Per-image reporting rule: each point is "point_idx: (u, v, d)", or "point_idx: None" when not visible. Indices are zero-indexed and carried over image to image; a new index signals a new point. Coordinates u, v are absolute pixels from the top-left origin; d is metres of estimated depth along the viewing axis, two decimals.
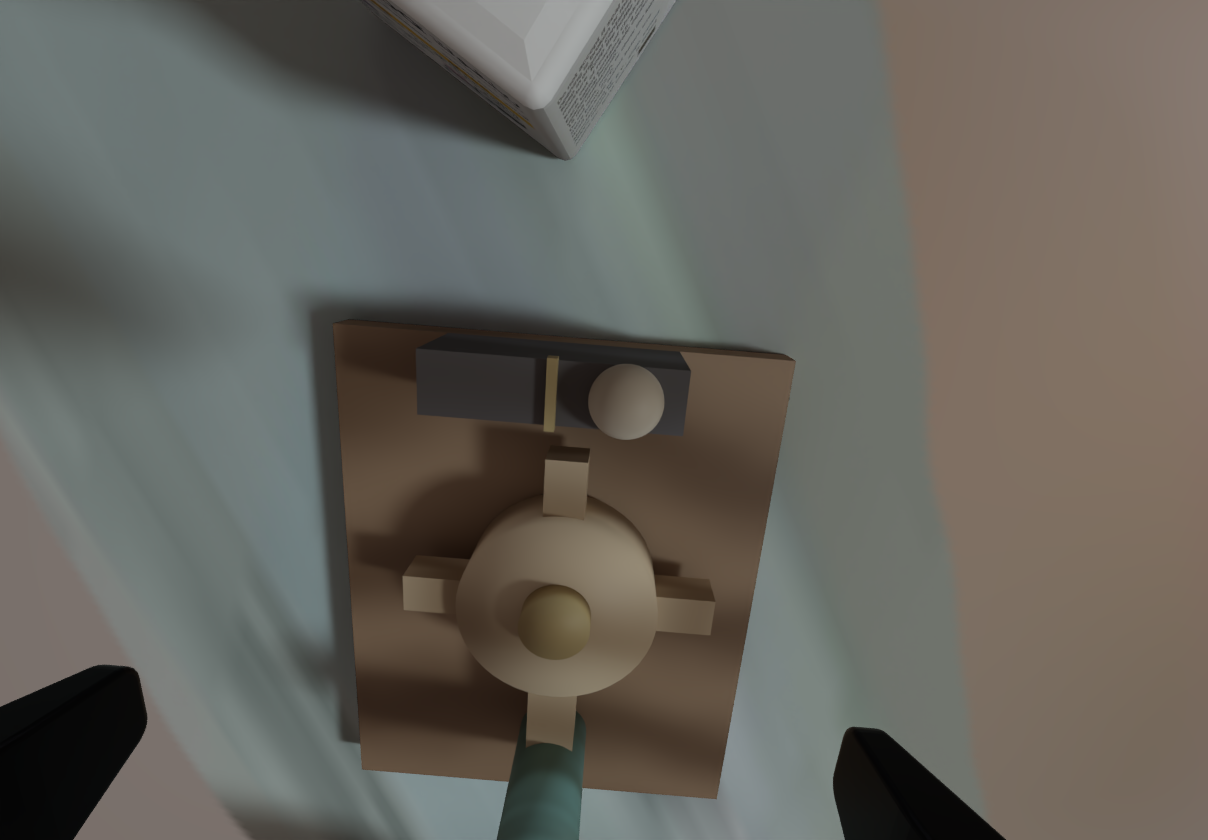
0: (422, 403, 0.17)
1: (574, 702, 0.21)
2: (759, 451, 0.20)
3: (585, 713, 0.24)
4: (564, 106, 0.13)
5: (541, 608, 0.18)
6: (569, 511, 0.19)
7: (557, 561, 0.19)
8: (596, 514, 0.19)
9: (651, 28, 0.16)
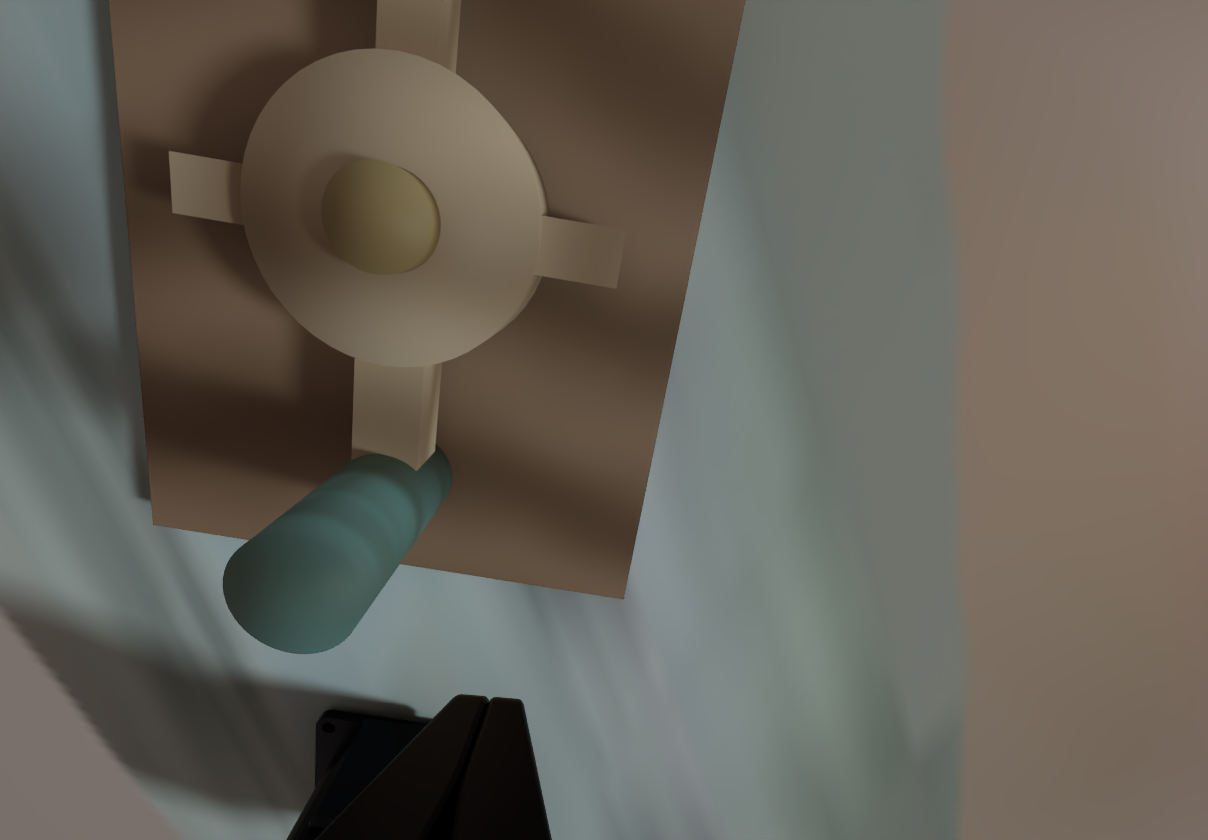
0: None
1: (420, 389, 0.15)
2: (709, 40, 0.14)
3: (454, 457, 0.18)
4: None
5: (356, 177, 0.12)
6: (415, 48, 0.12)
7: (390, 121, 0.12)
8: None
9: None
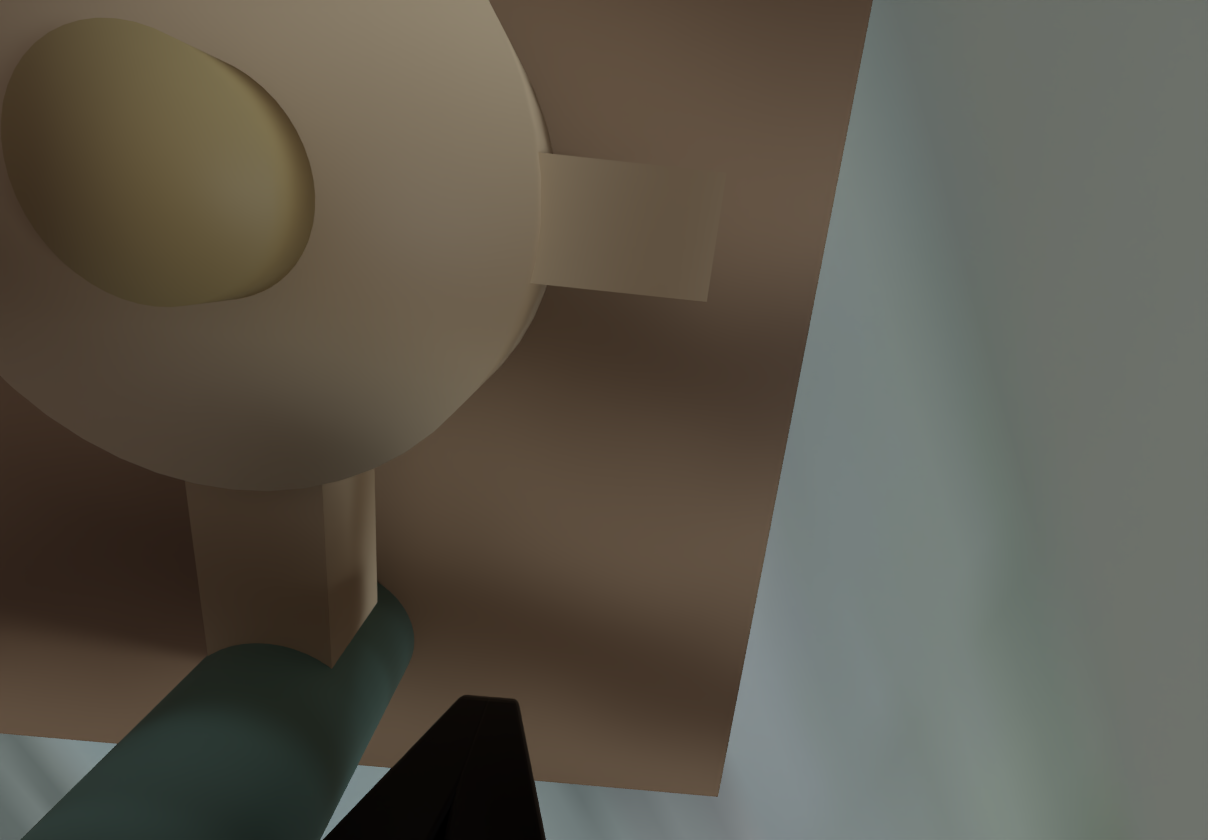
0: None
1: (321, 523, 0.07)
2: None
3: (420, 599, 0.10)
4: None
5: (72, 70, 0.05)
6: None
7: None
8: None
9: None
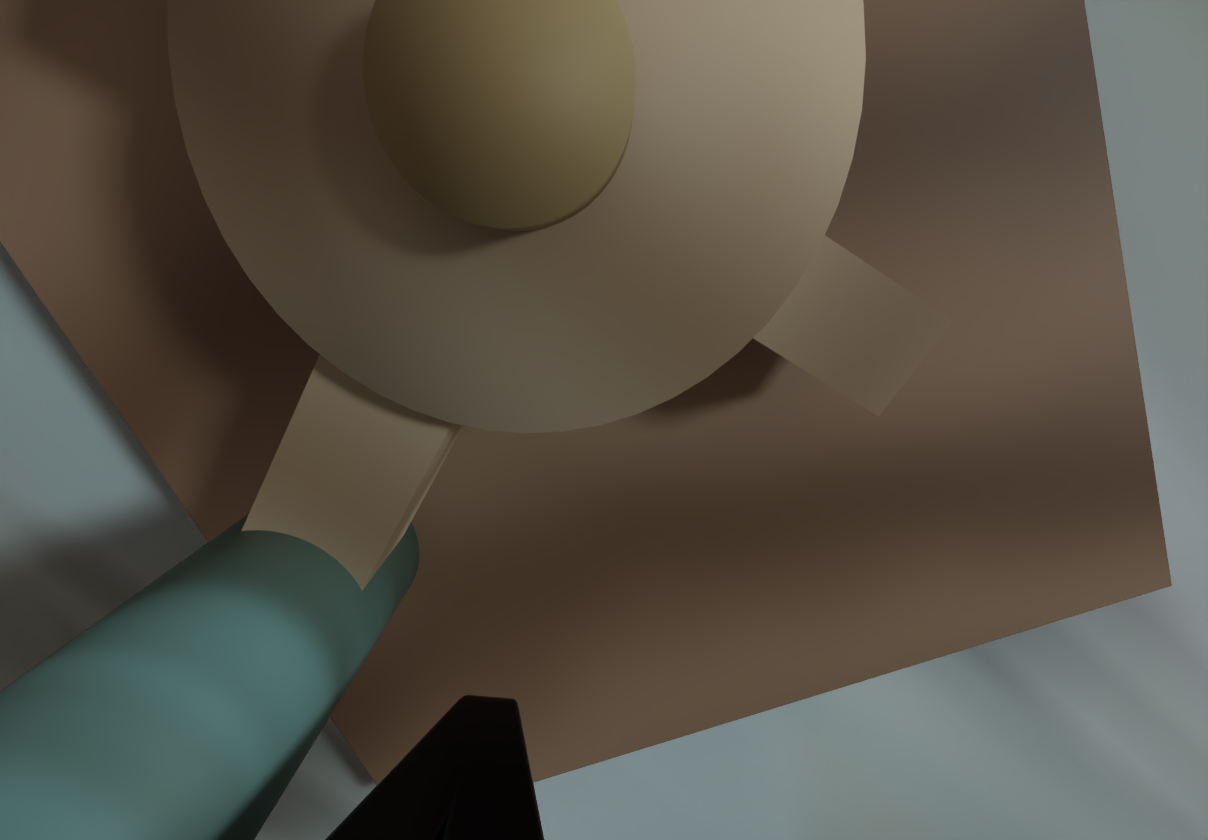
0: None
1: (430, 455, 0.07)
2: None
3: (773, 509, 0.10)
4: None
5: None
6: None
7: None
8: None
9: None
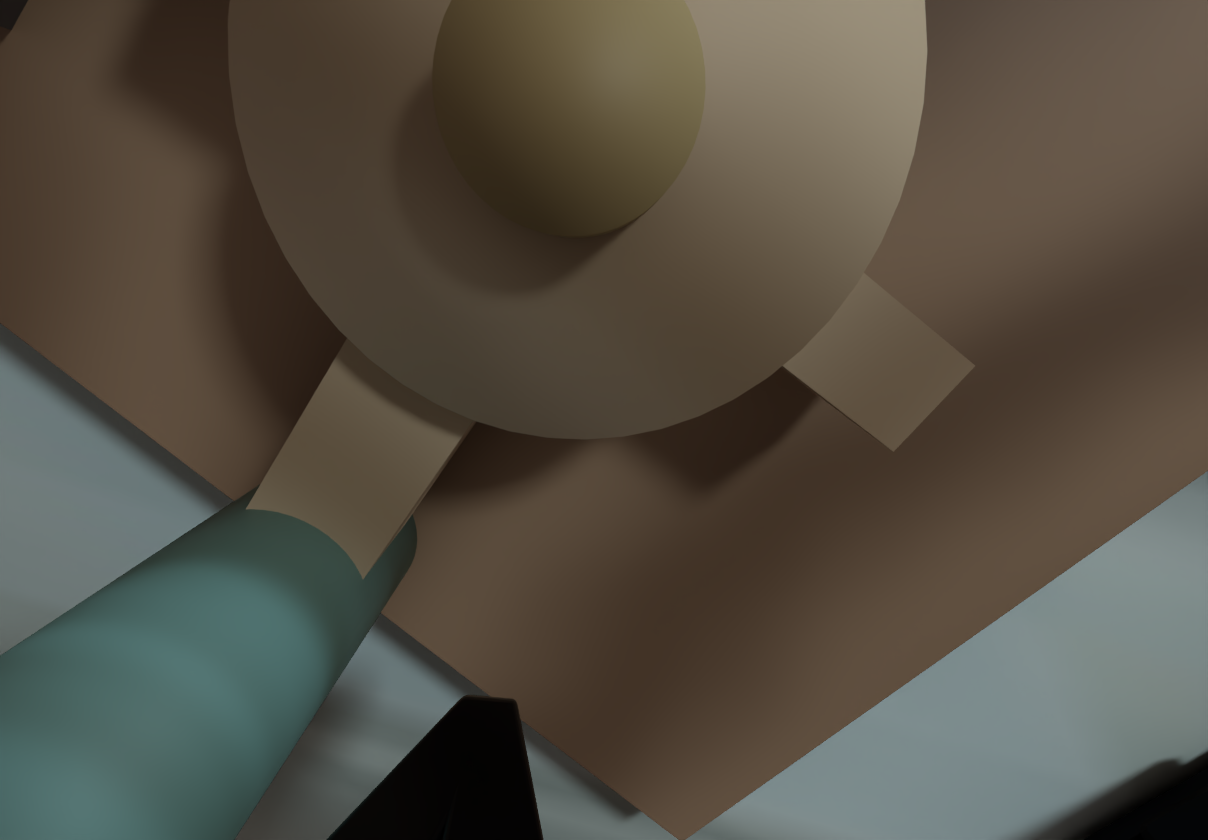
0: None
1: (447, 450, 0.07)
2: None
3: (938, 407, 0.09)
4: None
5: None
6: None
7: None
8: None
9: None
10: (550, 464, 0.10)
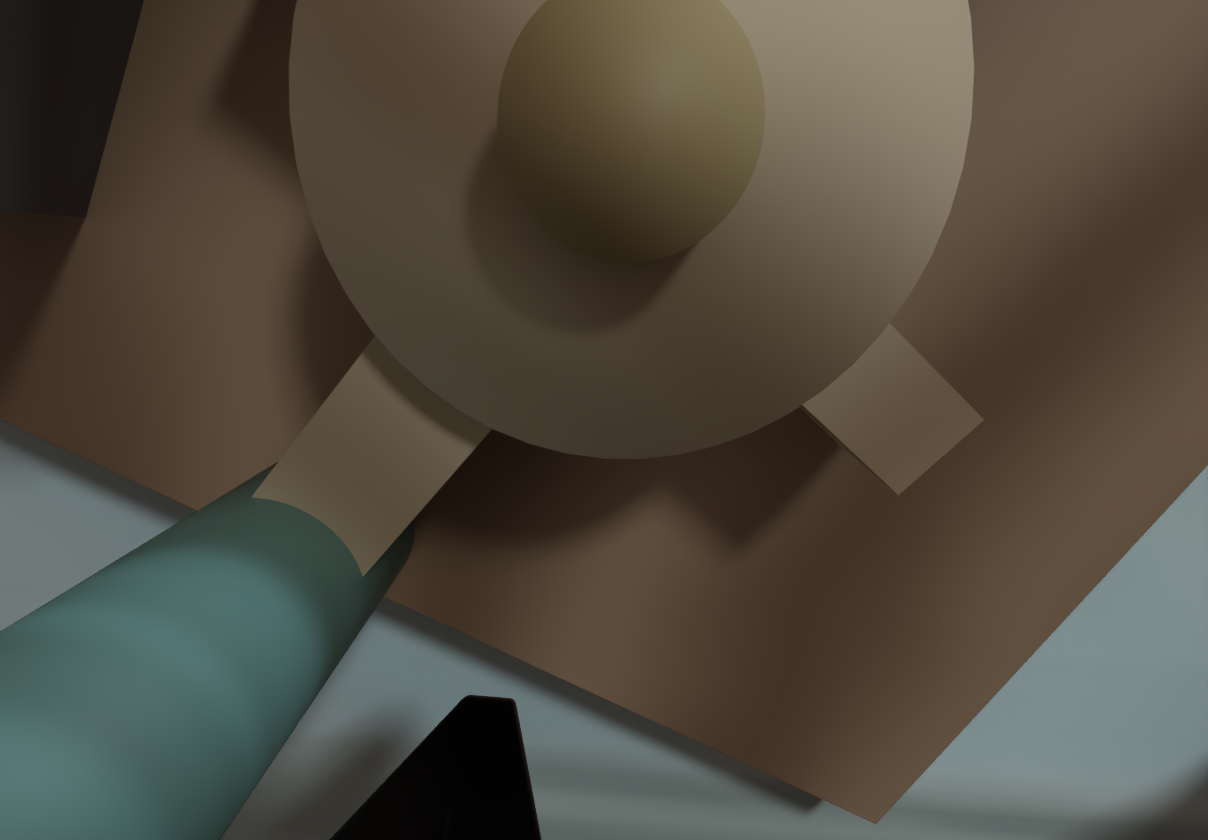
0: None
1: (463, 455, 0.07)
2: None
3: (1035, 323, 0.09)
4: None
5: (654, 11, 0.05)
6: None
7: None
8: None
9: None
10: (655, 481, 0.10)
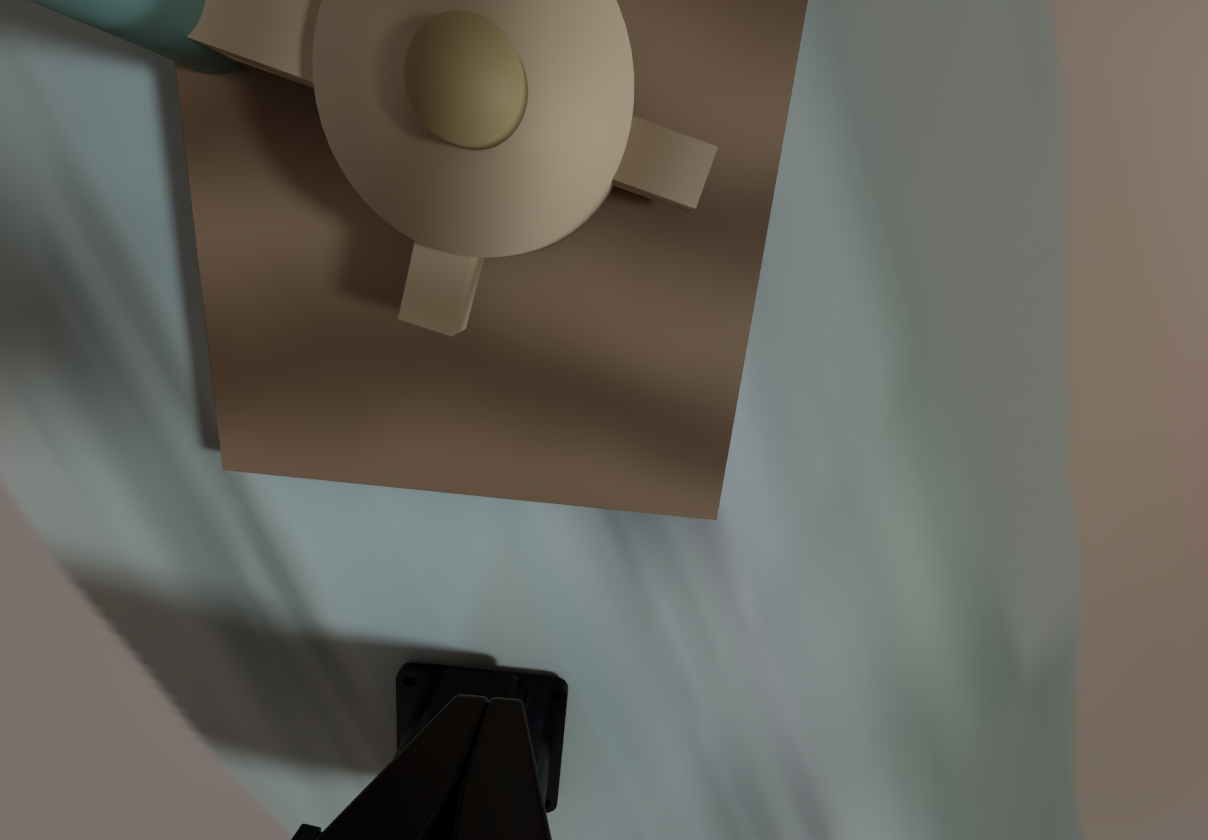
0: None
1: (292, 71, 0.12)
2: None
3: (533, 375, 0.17)
4: None
5: (505, 68, 0.11)
6: (631, 161, 0.13)
7: (566, 118, 0.12)
8: (603, 197, 0.14)
9: None
10: (352, 219, 0.16)
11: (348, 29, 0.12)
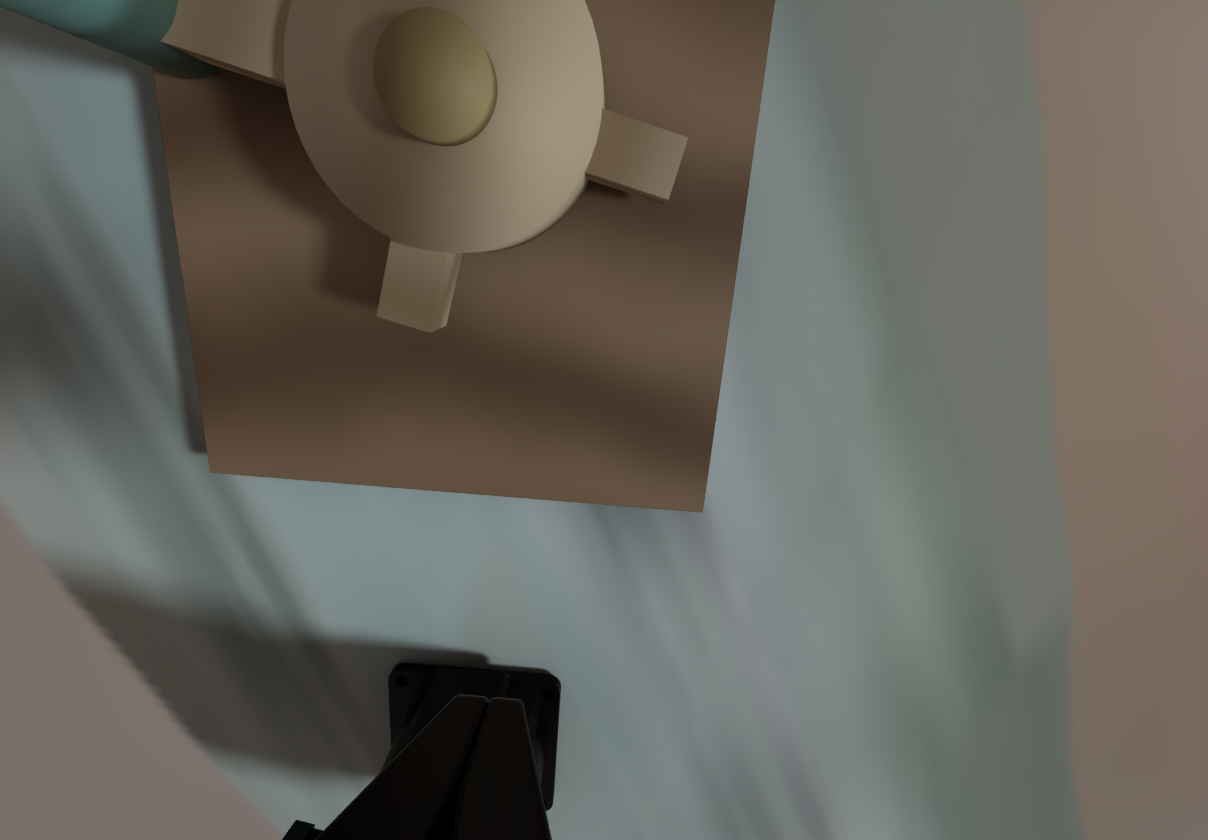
0: None
1: (265, 73, 0.13)
2: None
3: (515, 371, 0.17)
4: None
5: (472, 64, 0.11)
6: (603, 153, 0.13)
7: (536, 113, 0.12)
8: (577, 191, 0.14)
9: None
10: (331, 219, 0.16)
11: (318, 29, 0.12)
